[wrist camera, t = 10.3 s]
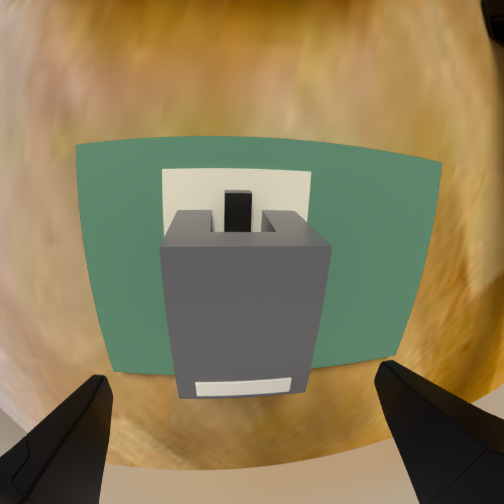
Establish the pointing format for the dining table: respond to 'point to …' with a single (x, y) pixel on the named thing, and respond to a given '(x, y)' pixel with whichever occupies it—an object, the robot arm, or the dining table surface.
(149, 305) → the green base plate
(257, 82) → the dining table surface
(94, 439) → the robot arm
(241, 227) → the header pins
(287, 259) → the block
